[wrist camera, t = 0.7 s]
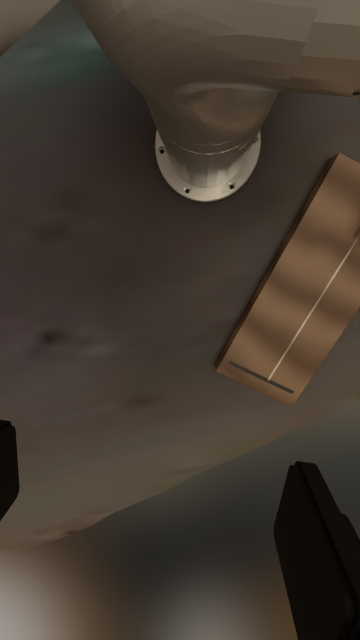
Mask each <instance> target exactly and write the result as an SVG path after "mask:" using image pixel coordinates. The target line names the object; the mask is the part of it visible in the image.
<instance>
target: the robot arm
mask: <svg viewBox="0 0 360 640" xmlns="http://www.w3.org/2000/svg"><path fill="white" fill-rule="evenodd" d="M74 2H75V4H76V6H77V8H78V10H79V12H80V14H81V16H82V18H83V20H84V21H85V23H86V25H87V26H88V28H89V30H90V31H91V33H92V35H93V36H94V38H95V39H96V41H97V42H98V44H99V45H100V47H101V48H102V50H103V51H104V52H105V54H106V55H107V56H108V58H109V59H110V61H111V62H112V63H113V64H114V65H115V67H116V68H117V69H118V70H119V71H120V72H121V74H122V75H123V76H124V77H125V78H126V79H127V80H128V81H129V82H130V83H131V84H132V85H133V86H134V87H135V88H136V89H137V90H138V91H139V92H140V93H141V94H142V95H143V96H144V98H145V100H146V103H147V105H148V107H149V110H150V112H151V115H152V118H153V120H154V123H155V125H156V128H157V130H156V137H155V154H156V159H157V163H158V166H159V169H160V171H161V173H162V175H163V177H164V179H165V180H166V182H167V183H168V184H169V185H170V187H171V188H172V189H173V190H175V191H176V192H177V193H178V194H179V195H181V196H183V197H185V198H186V199H189V200H192V201H195V202H204V203H207V202H215V201H219V200H222V199H225V198H227V197H228V196H230V195H232V194H234V193H235V192H236V191H237V190H239V189H240V188H241V187H242V186H243V185H244V184H245V182H246V181H247V180H248V179H249V177H250V176H251V174H252V172H253V170H254V168H255V166H256V164H257V161H258V157H259V154H260V147H261V130H260V129H261V127H262V125H263V123H264V122H265V120H266V118H267V116H268V114H269V112H270V110H271V108H272V106H273V104H274V101H275V99H276V97H277V94H278V92H281V91H289V92H300V93H311V94H322V95H333V96H344V97H355V98H360V0H74ZM254 141H255V143H254ZM253 143H254V144H253ZM161 150H164V153H163V154H161V153H160V152H161ZM230 185H233V189H230V188H229V186H230ZM187 189H188V190H189V193H186V192H185V191H186V190H187ZM18 493H19V474H18V460H17V445H16V431H15V427H14V426H12V424H11V422H10V421H5V420H0V521H1V519H2V518H3V516H4V515H5V514H6V512H7V511H8V509H9V508H10V507H11V505H12V504H13V502H14V501H15V499H16V498H17V495H18ZM274 539H275V544H276V548H277V552H278V556H279V561H280V565H281V569H282V573H283V578H284V582H285V586H286V590H287V594H288V598H289V603H290V607H291V611H292V615H293V620H294V624H295V628H296V632H297V637H298V640H360V540H359V538H358V536H357V534H356V532H355V530H354V528H353V526H352V525H351V522H350V521H349V519H348V518H347V516H346V515H344V514H342V513H340V511H339V509H338V507H337V505H336V503H335V501H334V499H333V497H332V495H331V493H330V491H329V489H328V487H327V485H326V483H325V481H324V479H323V477H322V475H321V473H320V471H319V469H318V467H317V465H316V464H314V463H307V462H300V461H297V462H296V463H295V465H290V467H289V470H288V473H287V477H286V481H285V485H284V489H283V493H282V497H281V501H280V505H279V509H278V512H277V516H276V520H275V524H274Z"/></svg>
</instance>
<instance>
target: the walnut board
mask: <svg viewBox="0 0 360 640" xmlns="http://www.w3.org/2000/svg"><path fill="white" fill-rule="evenodd" d="M359 229H360V163H358V162H356V161H354V160H352V159H350V158H348V157H346V156H344V155H342V154H340V153H339V154H337V155H335V156H334V157H332V158H331V159H330V160H329V162H328V163H327V165H326V167H325V169H324V171H323V172H322V174H321V176H320V178H319V180H318V181H317V183H316V185H315V187H314V188H313V190H312V192H311V194H310V196H309V197H308V199H307V201H306V203H305V205H304V206H303V208H302V210H301V212H300V213H299V215H298V217H297V219H296V221H295V222H294V224H293V226H292V228H291V230H290V231H289V233H288V235H287V237H286V239H285V240H284V242H283V244H282V246H281V247H280V249H279V251H278V253H277V255H276V256H275V258H274V260H273V262H272V264H271V265H270V267H269V269H268V271H267V272H266V274H265V276H264V278H263V280H262V281H261V283H260V285H259V287H258V289H257V290H256V292H255V294H254V296H253V298H252V299H251V301H250V303H249V305H248V306H247V308H246V310H245V312H244V314H243V315H242V317H241V319H240V321H239V323H238V324H237V326H236V328H235V330H234V331H233V333H232V335H231V337H230V339H229V340H228V342H227V344H226V346H225V348H224V349H223V351H222V353H221V355H220V357H219V358H218V360H217V362H216V371H217V372H219V373H221V374H223V375H226V376H228V377H230V378H232V379H234V380H236V381H238V382H240V383H243V384H245V385H247V386H249V387H251V388H253V389H255V390H257V391H259V392H262V393H264V394H266V395H268V396H270V397H272V398H274V399H276V400H279V401H281V402H283V403H285V404H287V405H289V406H291V407H292V406H293V404H294V403H295V401H296V400H297V398H298V397H299V396H300V394H301V393H302V391H303V390H304V388H305V387H306V385H307V384H308V382H309V381H310V379H311V378H312V376H313V375H314V373H315V372H316V370H317V369H318V367H319V366H320V365H321V363H322V362H323V360H324V359H325V357H326V356H327V354H328V353H329V351H330V350H331V348H332V347H333V345H334V344H335V342H336V341H337V339H338V338H339V337H340V335H341V334H342V332H343V331H344V329H345V328H346V326H347V325H348V323H349V322H350V320H351V319H352V317H353V316H354V314H355V313H356V311H357V310H358V309H359V307H360V240H359V239H357V238H355V236H356V234H357V233H358V231H359Z"/></svg>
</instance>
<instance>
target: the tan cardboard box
mask: <svg viewBox="0 0 360 640" xmlns="http://www.w3.org/2000/svg"><path fill="white" fill-rule="evenodd" d="M355 238H357V239H359V240H360V229H359V231H358V233H357V234H356V236H355Z"/></svg>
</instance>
